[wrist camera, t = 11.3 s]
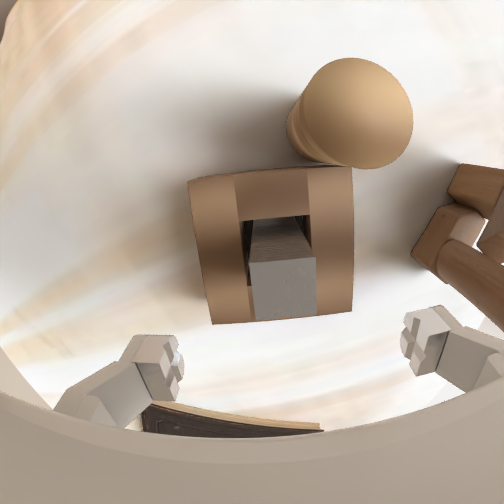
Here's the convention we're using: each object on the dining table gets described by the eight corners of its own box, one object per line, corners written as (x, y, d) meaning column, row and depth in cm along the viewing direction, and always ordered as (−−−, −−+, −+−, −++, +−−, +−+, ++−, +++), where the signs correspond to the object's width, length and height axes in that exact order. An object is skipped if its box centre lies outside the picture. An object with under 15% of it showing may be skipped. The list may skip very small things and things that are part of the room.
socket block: (199, 177, 22) (187, 181, 18) (336, 164, 21) (351, 166, 18) (218, 300, 26) (212, 324, 22) (339, 289, 25) (351, 311, 21)
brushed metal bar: (253, 218, 23) (249, 263, 14) (293, 215, 23) (315, 257, 13) (257, 256, 24) (255, 320, 15) (295, 252, 24) (316, 314, 14)
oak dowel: (284, 96, 20) (299, 54, 10) (351, 97, 19) (407, 66, 10) (288, 162, 22) (307, 168, 12) (354, 162, 21) (414, 171, 12)
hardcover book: (145, 389, 31) (139, 402, 29) (321, 418, 32) (324, 431, 30) (150, 447, 36) (147, 457, 34) (287, 469, 37) (287, 480, 35)
